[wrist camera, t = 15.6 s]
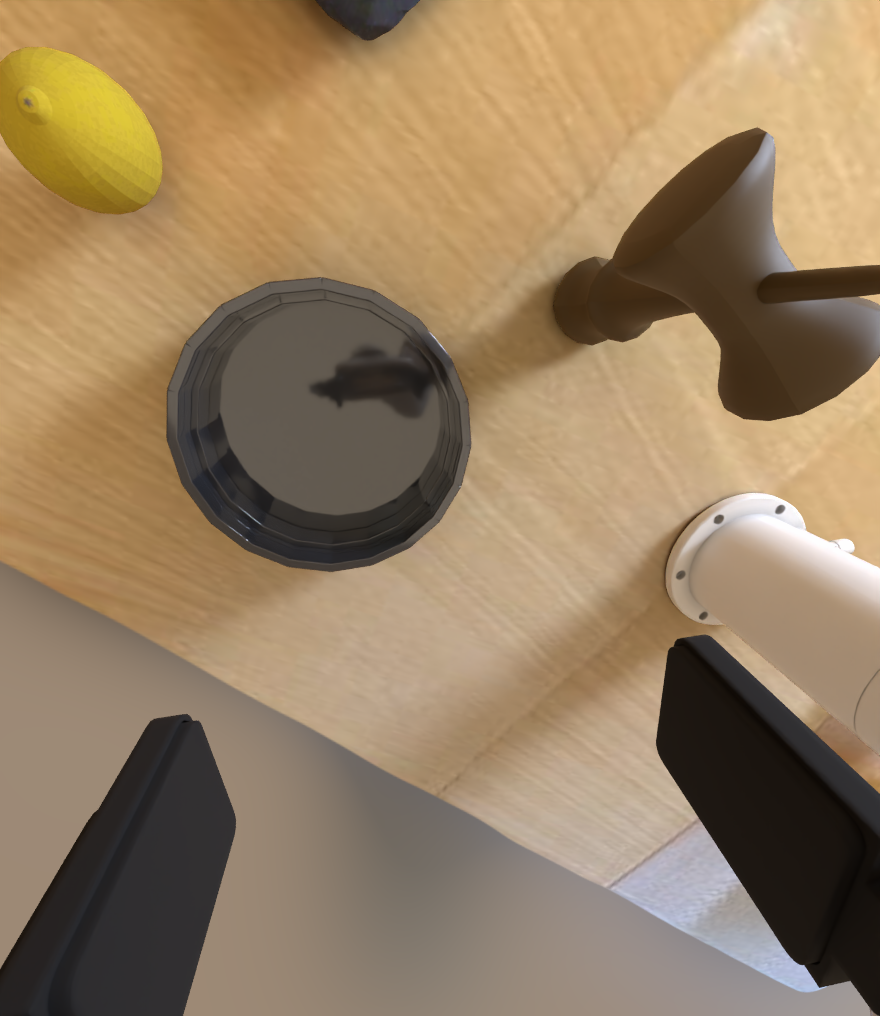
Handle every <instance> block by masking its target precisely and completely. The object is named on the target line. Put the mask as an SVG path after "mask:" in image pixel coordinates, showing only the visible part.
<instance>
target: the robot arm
mask: <svg viewBox="0 0 880 1016" xmlns="http://www.w3.org/2000/svg"><path fill="white" fill-rule="evenodd" d="M853 552H854V545H853V543H852V542H851V541H850V540H849V539H838V540H833V541H829V542H828V541H826V540H823V539H821V538H819V537H817V536H815V535H813V534H811V533H809V532H807V531H806V526H805V524H804V521H803V518H802V516H801V515H800V514H799V512H798V511H797V509H796V508H794V507H793V506H792V505H791V504H789V503H788V502H786V501H784V500H782V499H779V498H777V497H775V496H772V495H768V494H764V493H746V494H740V495H736V496H733V497H730V498H727V499H724V500H722V501H720V502H718V503H716V504H714V505H713V506H711V507H709V508H708V509H707V510H705V511H704V512H702V513H701V514H700V515H698V516H697V517H696V518H695V519H694V520H693V521H692V522H691V523H690V524H689V525H688V526H687V527H686V529H685V530H684V531H683V533H682V534H681V535H680V537H679V538H678V540H677V542H676V543H675V545H674V547H673V549H672V551H671V554H670V556H669V559H668V562H667V568H666V574H665V576H666V588H667V591H668V595H669V597H670V599H671V600H672V602H673V604H674V605H675V606H676V607H677V608H678V609H679V610H680V611H681V612H682V613H683V614H685V615H686V616H687V617H689V618H690V619H692V620H694V621H696V622H698V623H703V624H708V625H725V626H726V627H728V628H729V629H730V630H731V631H732V632H733V633H735V634H736V635H737V636H738V637H739V638H741V639H742V640H743V641H744V642H745V643H747V644H748V645H749V646H750V647H751V648H752V649H754V650H755V651H756V652H757V653H758V654H760V655H761V656H762V657H763V658H764V659H765V660H767V661H768V662H769V663H770V664H771V665H773V666H774V667H775V668H776V669H777V670H778V671H780V672H781V673H782V674H783V675H784V676H786V677H787V678H788V679H789V680H790V681H791V682H793V683H794V684H795V685H796V686H797V687H799V688H800V689H801V690H802V691H803V692H805V693H806V694H807V695H808V696H809V697H810V698H812V699H813V700H814V701H815V702H816V703H818V704H819V705H820V706H821V707H822V708H823V709H825V710H826V711H827V712H828V713H829V714H831V715H832V716H833V717H834V718H835V719H836V720H838V721H839V722H840V723H841V724H842V725H844V726H845V727H846V728H847V729H848V730H849V731H851V732H852V733H853V734H854V735H855V736H857V737H858V738H859V739H860V740H861V741H862V742H863V743H864V744H866V745H867V746H868V747H869V748H870V749H872V750H873V751H874V752H875V753H876V754H878V755H879V756H880V568H878V567H876V566H874V565H872V564H870V563H868V562H865V561H863V560H861V559H859V558H857V557H855V556H853V555H851V554H852V553H853ZM656 746H657V750H658V754H659V756H660V758H661V760H662V762H663V763H664V765H665V766H666V768H667V770H668V771H669V773H670V774H671V776H672V777H673V779H674V780H675V782H676V783H677V785H678V786H679V788H680V790H681V791H682V793H683V794H684V796H685V797H686V799H687V800H688V802H689V803H690V805H691V806H692V808H693V810H694V811H695V813H696V814H697V816H698V817H699V819H700V820H701V822H702V823H703V825H704V826H705V828H706V830H707V831H708V833H709V834H710V836H711V837H712V839H713V840H714V842H715V843H716V845H717V846H718V848H719V849H720V851H721V853H722V854H723V856H724V857H725V859H726V860H727V862H728V863H729V865H730V866H731V868H732V869H733V871H734V873H735V874H736V876H737V877H738V879H739V880H740V882H741V883H742V885H743V886H744V888H745V889H746V891H747V893H748V894H749V896H750V897H751V899H752V900H753V902H754V903H755V905H756V906H757V908H758V909H759V911H760V913H761V914H762V916H763V917H764V919H765V920H766V922H767V923H768V925H769V926H770V928H771V929H772V931H773V932H774V934H775V936H776V937H777V939H778V940H779V942H780V943H781V945H782V946H783V948H784V949H785V951H786V952H787V953H788V955H789V956H790V957H791V958H792V959H793V960H794V961H795V962H796V963H798V964H799V965H805V967H806V968H807V970H808V971H809V973H810V974H811V976H812V977H813V979H814V980H815V982H816V983H817V985H818V986H819V988H821V987H825V986H829V985H834V984H838V983H842V982H847V981H851V982H852V984H853V985H854V986H855V988H856V989H857V991H858V992H859V993H860V995H861V996H862V997H863V999H864V1000H865V1002H866V1003H867V1004H868V1006H869V1007H870V1014H871V1016H880V794H879V793H878V792H877V791H876V790H875V789H874V788H873V787H872V786H871V785H870V784H868V783H867V782H866V781H865V780H864V779H863V778H862V777H861V776H860V775H859V774H858V773H857V772H856V771H855V770H853V769H852V768H851V767H850V766H849V765H848V764H847V763H846V762H845V761H844V760H843V759H842V758H841V757H840V756H838V755H837V754H836V753H835V752H834V751H833V750H832V749H831V748H830V747H829V746H828V745H827V744H826V743H825V742H823V741H822V740H821V739H820V738H819V737H818V736H817V735H816V734H815V733H814V732H813V731H812V730H811V729H810V728H808V727H807V726H806V725H805V724H804V723H803V722H802V721H801V720H800V719H799V718H798V717H797V716H796V715H795V714H794V713H792V712H791V711H790V710H789V709H788V708H787V707H786V706H785V705H784V704H783V703H782V702H781V701H780V700H779V699H777V698H776V697H775V696H774V695H773V694H772V693H771V692H770V691H769V690H768V689H767V688H766V687H765V686H764V685H762V684H761V683H760V682H759V681H758V680H757V679H756V678H755V677H754V676H753V675H752V674H751V673H750V672H749V671H747V670H746V669H745V668H744V667H743V666H742V665H741V664H740V663H739V662H738V661H737V660H736V659H735V658H734V657H732V656H731V655H730V654H729V653H728V652H727V651H726V650H725V649H724V648H723V647H722V646H721V645H720V644H719V643H717V642H716V641H715V640H714V639H713V638H712V637H710V636H708V635H699V636H692V637H686V638H680V639H677V640H676V641H675V644H674V647H671V648H670V649H669V650H668V655H667V663H666V670H665V678H664V685H663V693H662V700H661V708H660V716H659V723H658V731H657V738H656ZM235 828H236V818H235V813H234V810H233V807H232V805H231V802H230V799H229V797H228V794H227V791H226V789H225V786H224V783H223V781H222V778H221V775H220V773H219V770H218V767H217V765H216V762H215V759H214V757H213V754H212V751H211V749H210V746H209V743H208V741H207V738H206V736H205V733H204V730H203V727H202V725H201V723H200V722H199V721H193V720H192V719H191V717H190V716H189V715H188V714H183V715H176V716H170V717H164V718H157V719H154V720H152V721H150V723H149V724H148V726H147V727H146V728H145V730H144V732H143V734H142V735H141V737H140V739H139V741H138V742H137V744H136V746H135V748H134V749H133V751H132V753H131V754H130V756H129V758H128V759H127V761H126V763H125V765H124V766H123V768H122V770H121V771H120V773H119V775H118V776H117V778H116V780H115V782H114V783H113V785H112V787H111V788H110V790H109V792H108V794H107V795H106V797H105V799H104V801H103V802H102V804H101V806H100V807H99V809H98V810H97V811H96V812H95V813H94V814H93V815H92V816H91V818H90V819H89V820H88V822H87V823H86V825H85V827H84V828H83V830H82V832H81V833H80V835H79V837H78V838H77V840H76V842H75V843H74V845H73V847H72V849H71V850H70V852H69V854H68V855H67V857H66V859H65V860H64V862H63V864H62V865H61V867H60V869H59V870H58V872H57V874H56V876H55V877H54V879H53V881H52V883H51V884H50V886H49V888H48V889H47V891H46V892H45V894H44V896H43V898H42V899H41V901H40V903H39V904H38V906H37V908H36V909H35V911H34V913H33V915H32V916H31V918H30V920H29V921H28V923H27V925H26V926H25V928H24V930H23V931H22V933H21V935H20V937H19V938H18V940H17V942H16V943H15V945H14V947H13V948H12V950H11V952H10V953H9V955H8V957H7V959H6V960H5V962H4V964H3V965H2V967H1V969H0V1016H183V1014H184V1010H185V1007H186V1003H187V1000H188V996H189V993H190V989H191V986H192V982H193V979H194V975H195V972H196V968H197V965H198V961H199V958H200V954H201V951H202V947H203V944H204V940H205V937H206V933H207V930H208V926H209V923H210V919H211V916H212V912H213V909H214V905H215V902H216V898H217V894H218V891H219V888H220V884H221V881H222V877H223V874H224V870H225V867H226V863H227V860H228V856H229V853H230V849H231V846H232V842H233V838H234V835H235Z"/></svg>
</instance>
